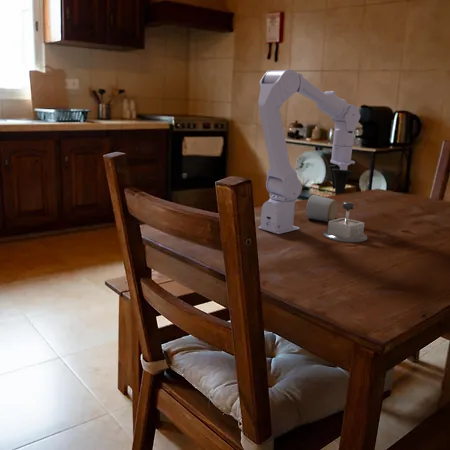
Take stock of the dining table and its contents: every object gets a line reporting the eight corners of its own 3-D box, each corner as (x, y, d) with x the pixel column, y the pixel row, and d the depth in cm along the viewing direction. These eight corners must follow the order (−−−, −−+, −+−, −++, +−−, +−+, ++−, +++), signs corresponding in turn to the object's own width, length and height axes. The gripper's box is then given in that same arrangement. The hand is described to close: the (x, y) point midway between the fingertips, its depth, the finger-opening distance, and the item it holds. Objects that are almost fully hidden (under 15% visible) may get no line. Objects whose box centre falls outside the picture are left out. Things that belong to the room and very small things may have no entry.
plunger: (348, 228, 138) (351, 205, 137) (334, 224, 141) (336, 202, 140) (358, 225, 141) (360, 203, 140) (343, 222, 145) (346, 200, 143)
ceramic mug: (328, 224, 155) (331, 199, 153) (304, 220, 159) (306, 196, 157) (341, 219, 163) (344, 195, 161) (317, 215, 167) (319, 192, 166)
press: (351, 245, 134) (353, 229, 133) (314, 234, 142) (316, 220, 141) (375, 237, 142) (377, 223, 141) (339, 228, 150) (340, 214, 149)
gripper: (360, 148, 144) (354, 196, 147) (352, 144, 158) (347, 187, 161) (335, 147, 144) (330, 194, 148) (329, 142, 158) (325, 186, 162)
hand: (337, 190), depth 154 cm, fingers open, 7 cm apart
